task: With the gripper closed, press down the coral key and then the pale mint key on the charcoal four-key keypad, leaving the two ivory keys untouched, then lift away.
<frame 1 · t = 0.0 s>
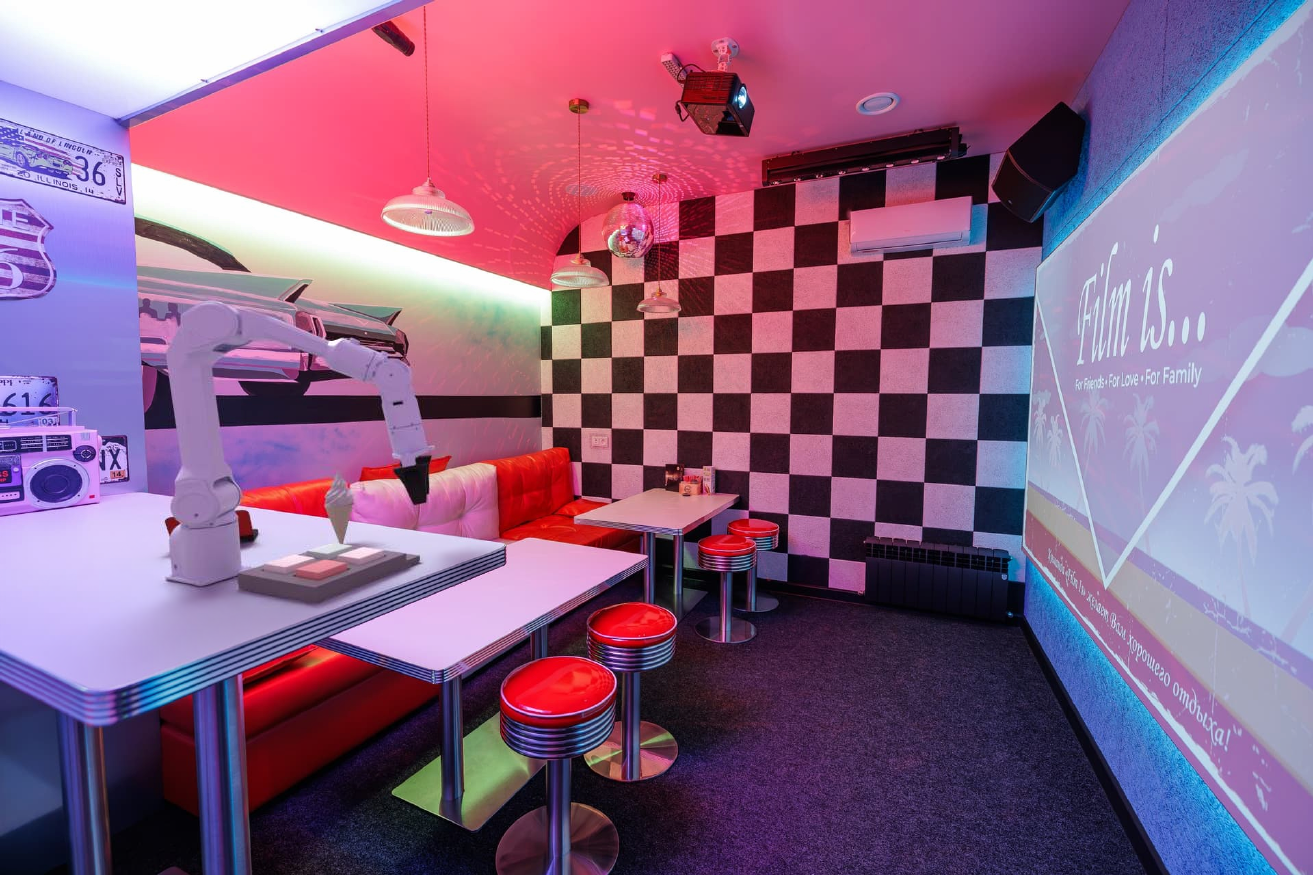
hand: (421, 499, 97), 11 cm above the table, tool pointing down, fingers open, 7 cm apart
keypad frame: (327, 577, 87), on the table
ivory key a: (290, 564, 85), point 3 cm above the table, slide at 0.0 cm
ivory key b: (361, 556, 89), point 3 cm above the table, slide at 0.0 cm
coral key: (321, 569, 82), point 3 cm above the table, slide at 0.0 cm
mint key: (330, 551, 91), point 3 cm above the table, slide at 0.0 cm
ice cream cone: (341, 545, 105), on the table
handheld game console: (216, 545, 106), on the table
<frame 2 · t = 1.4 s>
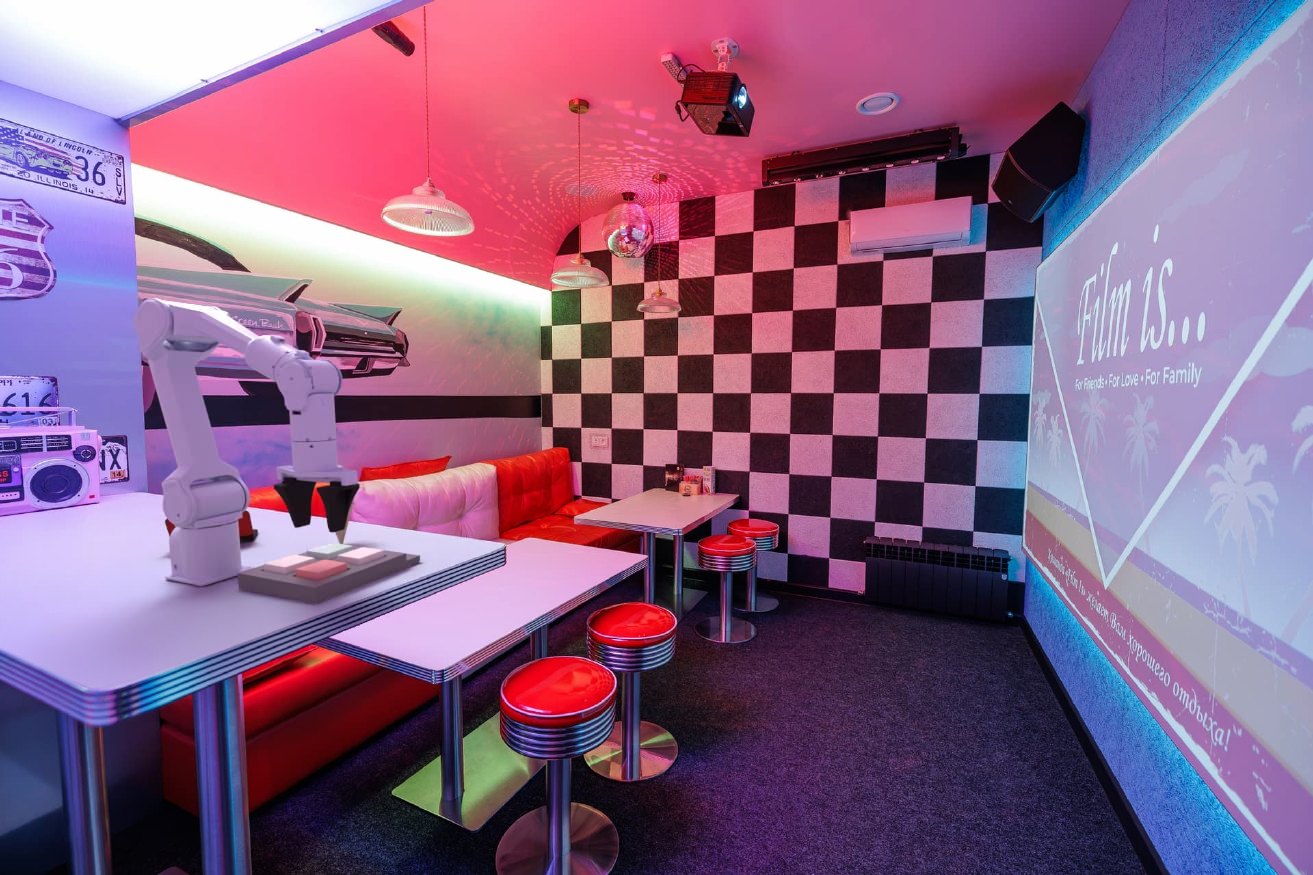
hand: (319, 528, 82), 9 cm above the table, tool pointing down, fingers open, 7 cm apart
nothing on the table moved.
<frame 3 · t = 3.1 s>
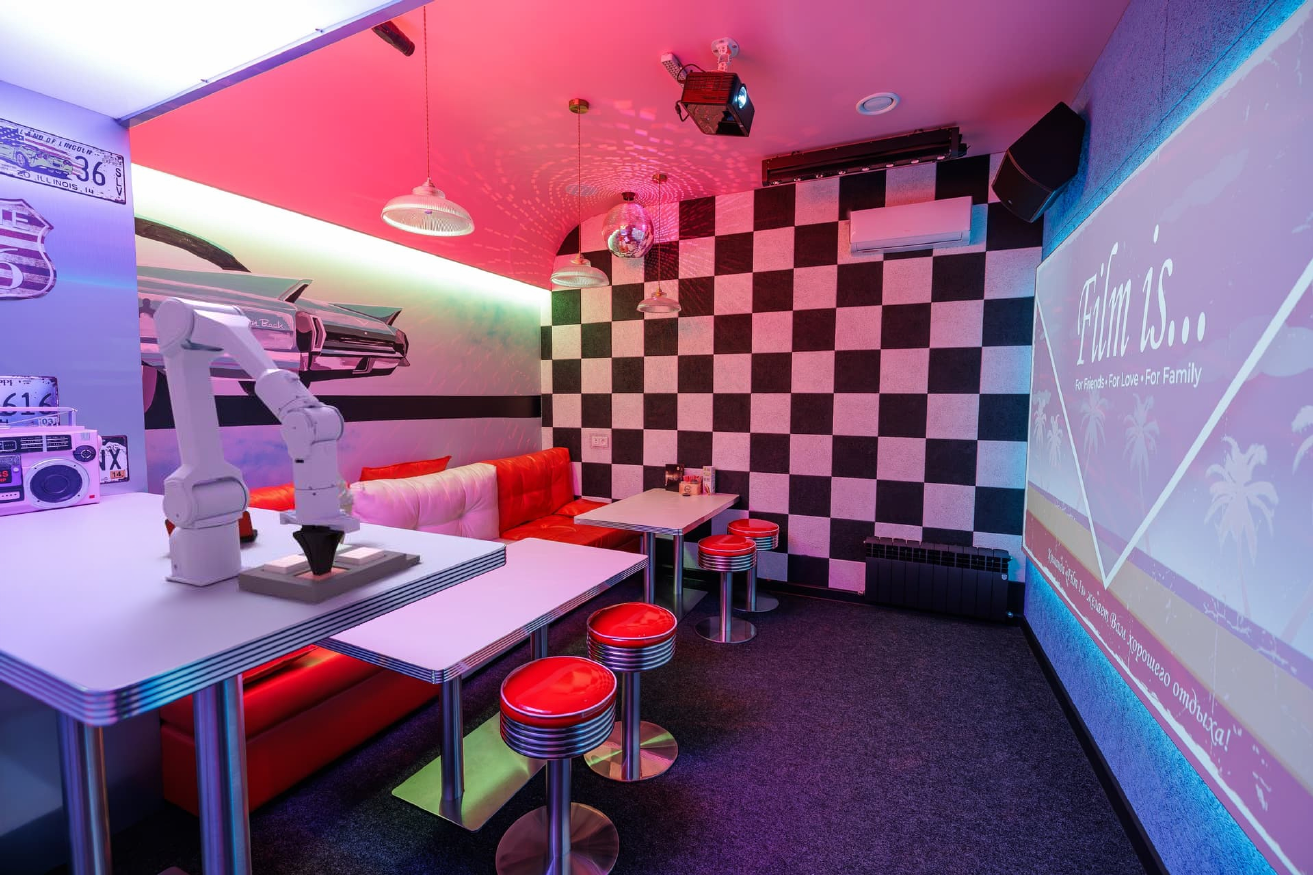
hand: (322, 573, 82), 2 cm above the table, tool pointing down, fingers closed, pressing on coral key
coral key: (322, 576, 82), point 2 cm above the table, slide at 1.1 cm, touching gripper
everything else where it was.
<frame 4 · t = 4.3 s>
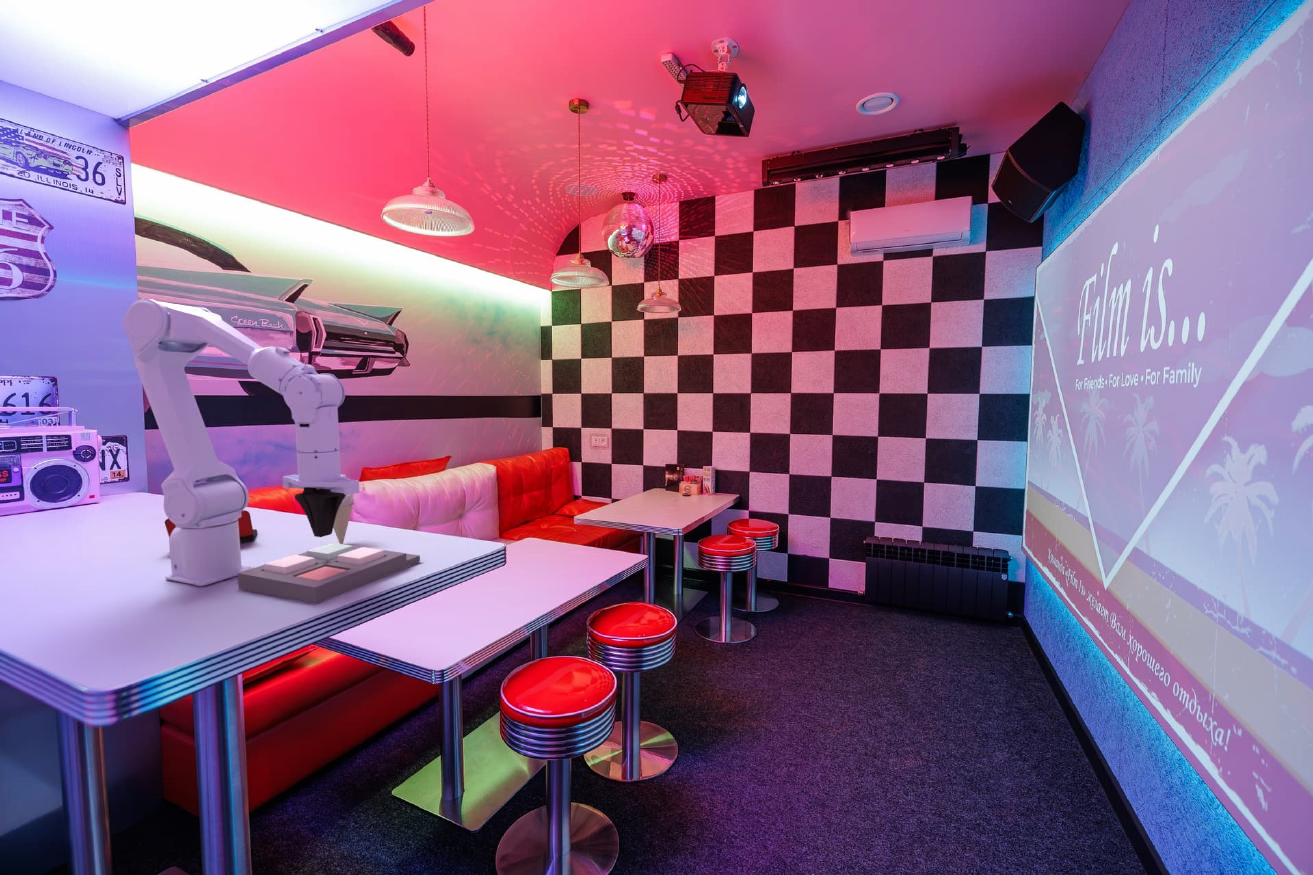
hand: (323, 535, 85), 7 cm above the table, tool pointing down, fingers closed
coral key: (322, 576, 82), point 2 cm above the table, slide at 1.1 cm
everything else where it was.
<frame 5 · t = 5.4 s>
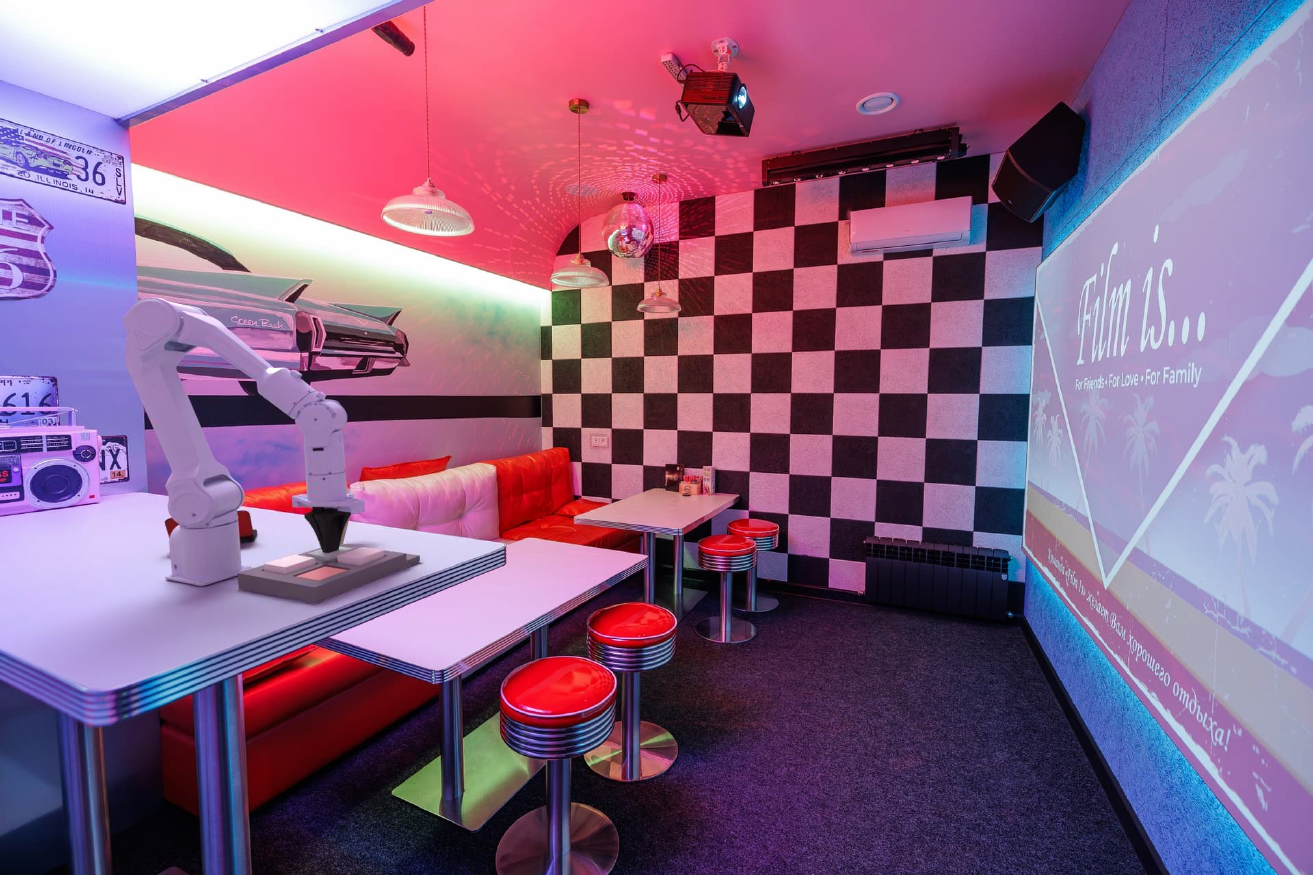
hand: (330, 551, 91), 3 cm above the table, tool pointing down, fingers closed, pressing on mint key
mint key: (330, 554, 91), point 2 cm above the table, slide at 0.5 cm, touching gripper
everything else where it was.
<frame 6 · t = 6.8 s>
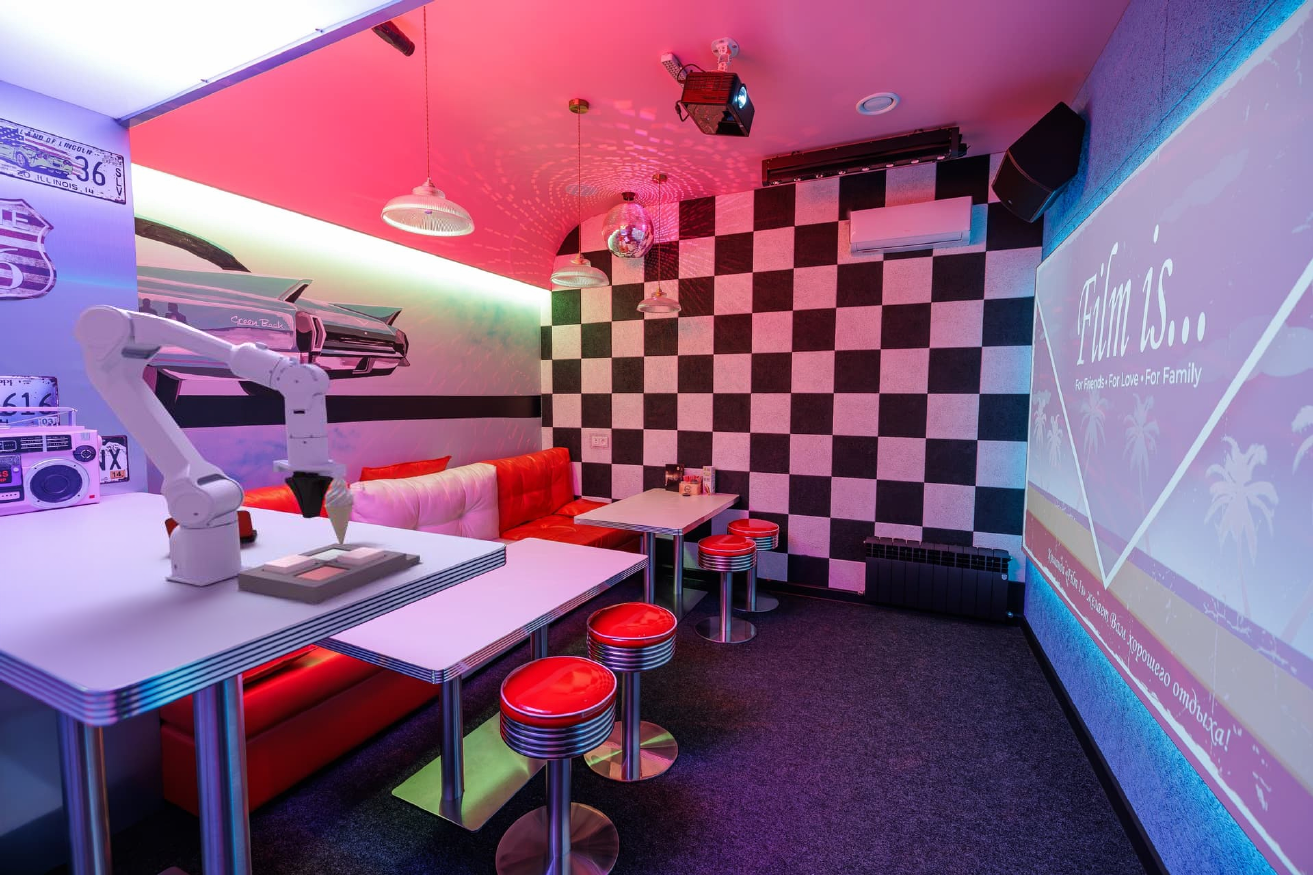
hand: (311, 516, 90), 9 cm above the table, tool pointing down, fingers closed
mint key: (330, 558, 91), point 2 cm above the table, slide at 1.1 cm
everything else where it was.
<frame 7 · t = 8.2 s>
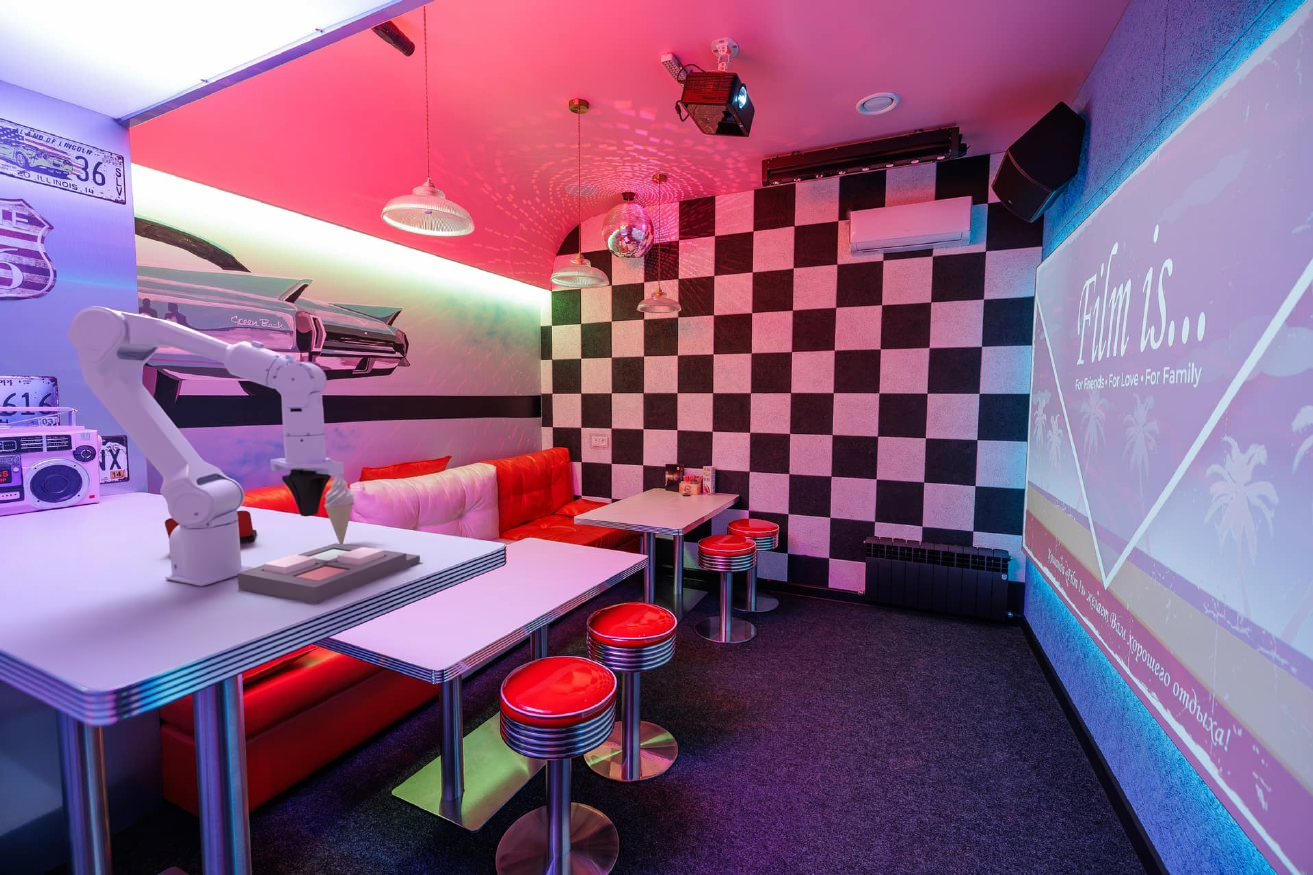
hand: (309, 514, 90), 9 cm above the table, tool pointing down, fingers closed
nothing on the table moved.
at the end: coral key slide at 1.1 cm; mint key slide at 1.1 cm; ivory key b slide at 0.0 cm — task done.
